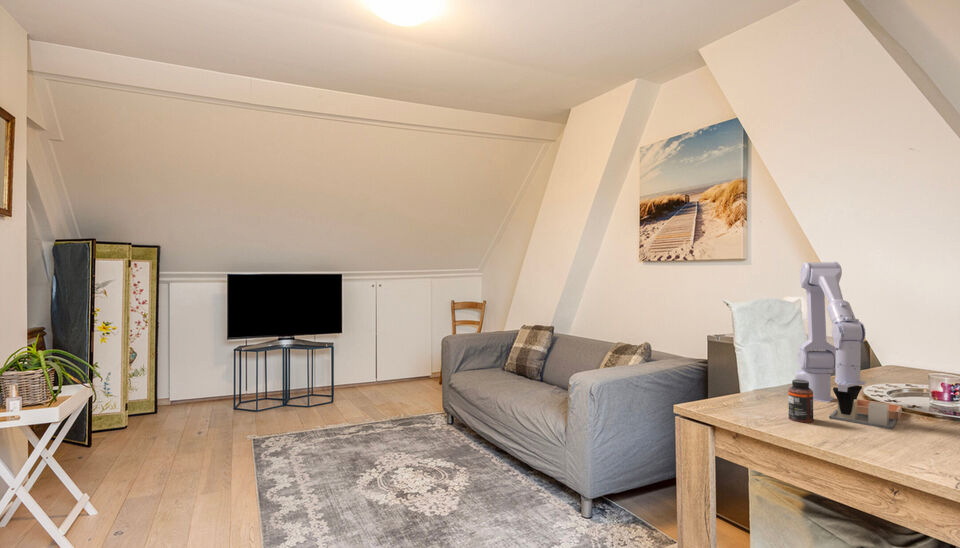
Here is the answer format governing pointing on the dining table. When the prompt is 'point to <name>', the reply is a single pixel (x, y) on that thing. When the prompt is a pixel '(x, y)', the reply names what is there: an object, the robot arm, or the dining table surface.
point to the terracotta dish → (893, 409)
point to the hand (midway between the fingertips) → (847, 412)
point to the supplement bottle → (800, 402)
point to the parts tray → (864, 420)
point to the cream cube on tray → (878, 413)
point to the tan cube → (853, 413)
